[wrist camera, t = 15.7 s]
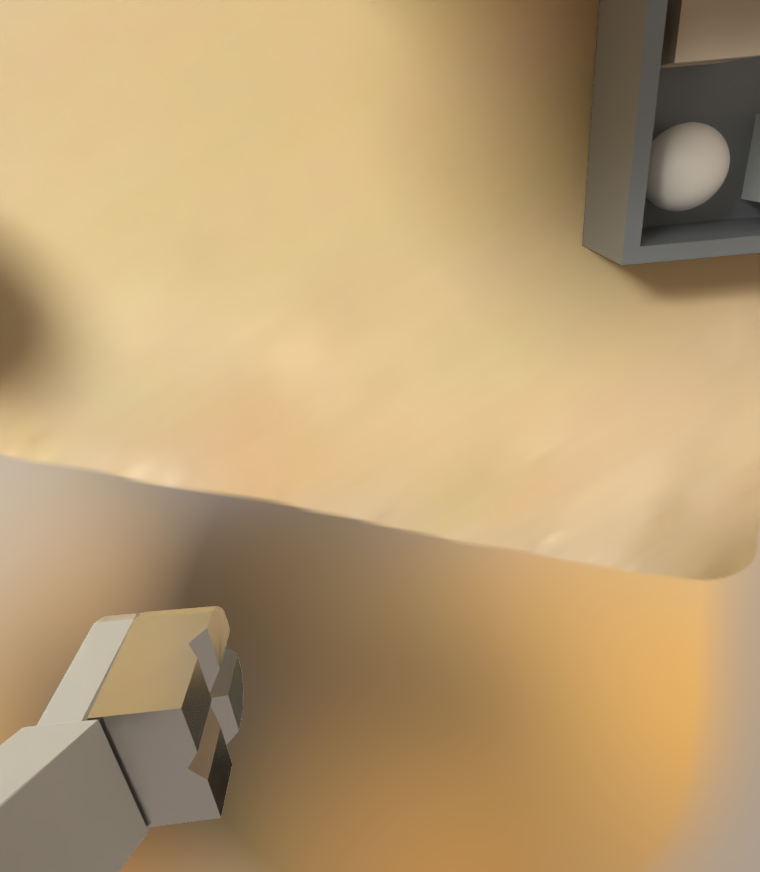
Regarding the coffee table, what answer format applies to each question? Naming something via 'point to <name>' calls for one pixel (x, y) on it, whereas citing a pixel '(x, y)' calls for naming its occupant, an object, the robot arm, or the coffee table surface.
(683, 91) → the storage box
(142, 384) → the coffee table surface
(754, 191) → the grey-blue cube
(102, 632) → the robot arm
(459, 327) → the coffee table surface
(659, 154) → the off-white ball
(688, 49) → the birch cube
